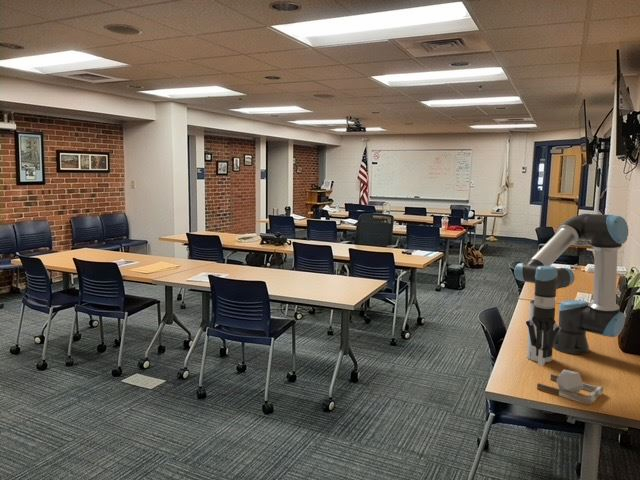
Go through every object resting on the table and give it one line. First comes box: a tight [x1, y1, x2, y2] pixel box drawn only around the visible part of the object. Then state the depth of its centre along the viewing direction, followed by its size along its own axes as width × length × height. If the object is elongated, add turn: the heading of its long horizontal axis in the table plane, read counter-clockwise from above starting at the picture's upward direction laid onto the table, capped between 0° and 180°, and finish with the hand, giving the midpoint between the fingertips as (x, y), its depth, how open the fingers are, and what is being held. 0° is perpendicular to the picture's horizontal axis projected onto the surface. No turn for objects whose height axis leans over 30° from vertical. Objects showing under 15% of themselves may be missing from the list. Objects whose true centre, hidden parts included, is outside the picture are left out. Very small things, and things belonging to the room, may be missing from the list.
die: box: [556, 369, 584, 395], centre depth 182 cm, size 8×9×10 cm
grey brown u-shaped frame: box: [536, 373, 604, 406], centre depth 184 cm, size 14×18×3 cm
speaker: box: [526, 299, 556, 363], centre depth 217 cm, size 11×10×26 cm
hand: (541, 364), depth 192 cm, fingers closed
